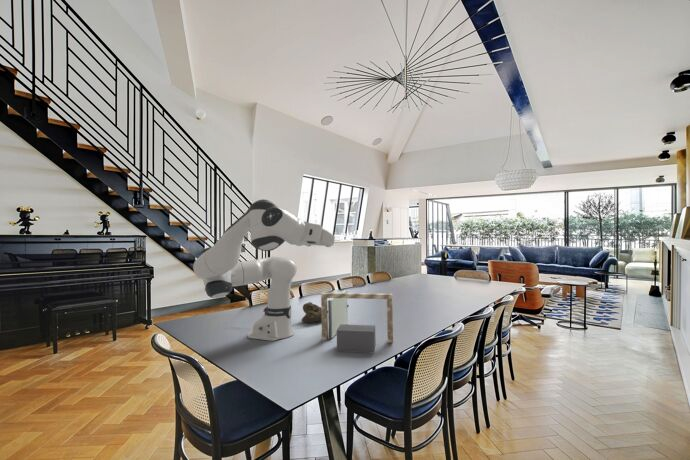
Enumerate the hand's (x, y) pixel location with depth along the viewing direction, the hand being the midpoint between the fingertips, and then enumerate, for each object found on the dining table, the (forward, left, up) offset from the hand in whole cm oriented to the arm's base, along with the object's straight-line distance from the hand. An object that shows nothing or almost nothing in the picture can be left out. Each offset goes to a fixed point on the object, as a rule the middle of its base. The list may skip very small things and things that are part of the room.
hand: (319, 244), depth 122 cm
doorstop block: (+12, +16, -46) cm, 51 cm away
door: (0, +38, -46) cm, 59 cm away
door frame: (+12, +25, -46) cm, 54 cm away
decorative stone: (-17, +55, -46) cm, 74 cm away
